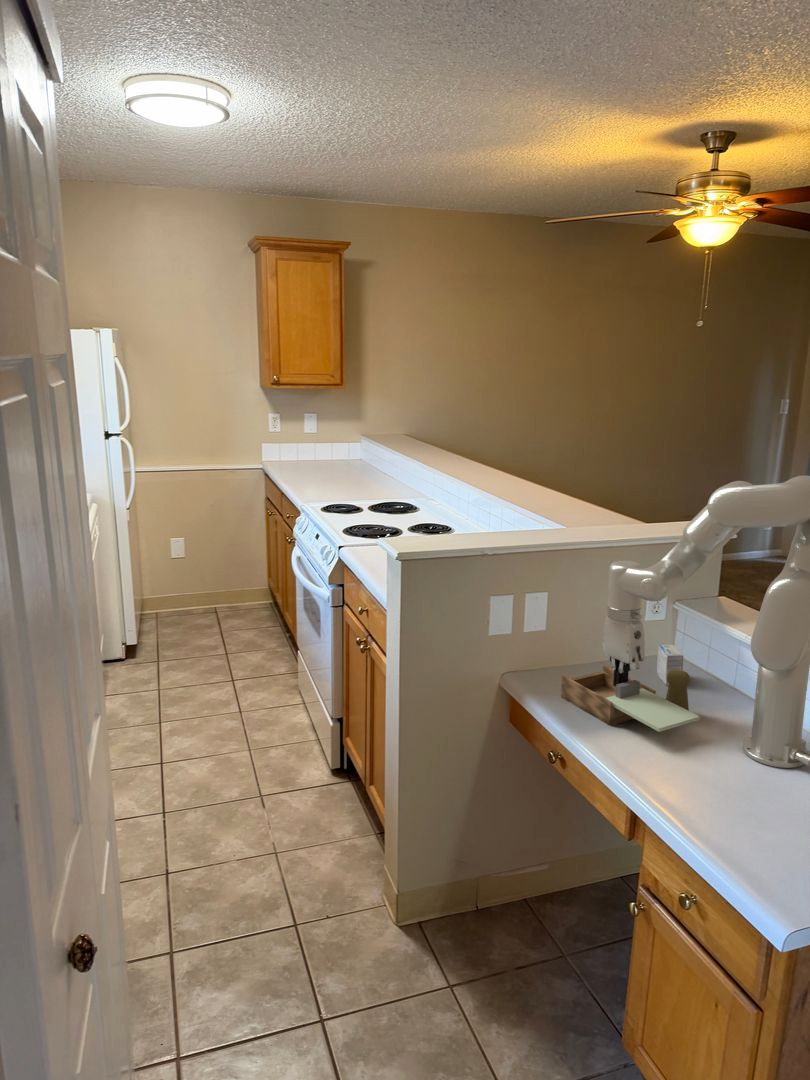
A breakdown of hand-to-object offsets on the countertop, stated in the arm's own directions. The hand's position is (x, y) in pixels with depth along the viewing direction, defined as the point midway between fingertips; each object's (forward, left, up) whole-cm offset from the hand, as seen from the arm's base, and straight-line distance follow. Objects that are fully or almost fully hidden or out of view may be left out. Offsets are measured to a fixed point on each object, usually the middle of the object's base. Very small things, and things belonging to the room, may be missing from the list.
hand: (620, 685), depth 182 cm
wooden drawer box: (+5, 0, -7) cm, 8 cm away
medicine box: (+9, -25, -7) cm, 27 cm away
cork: (-7, -11, -7) cm, 15 cm away
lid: (-10, 0, -2) cm, 10 cm away
